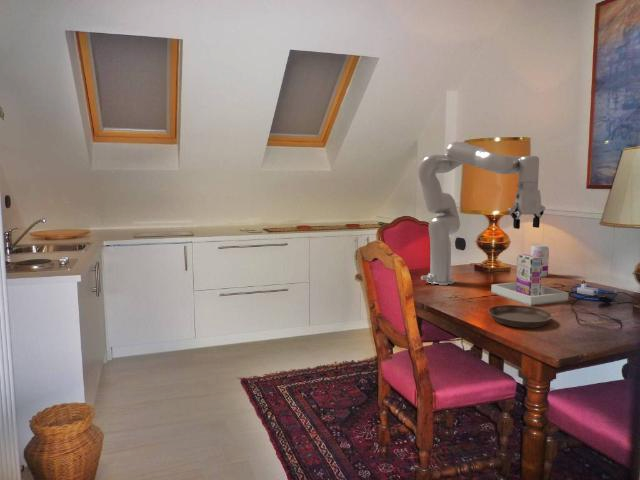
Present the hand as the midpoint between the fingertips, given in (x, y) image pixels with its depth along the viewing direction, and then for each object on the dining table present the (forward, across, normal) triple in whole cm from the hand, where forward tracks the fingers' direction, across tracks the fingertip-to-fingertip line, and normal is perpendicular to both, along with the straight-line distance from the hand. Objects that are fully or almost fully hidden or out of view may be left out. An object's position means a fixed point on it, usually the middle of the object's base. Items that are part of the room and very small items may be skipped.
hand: (526, 227), depth 210 cm
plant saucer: (+29, -26, -30) cm, 49 cm away
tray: (+28, -1, -4) cm, 29 cm away
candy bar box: (+28, -1, -4) cm, 28 cm away
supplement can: (+29, +33, +29) cm, 52 cm away
